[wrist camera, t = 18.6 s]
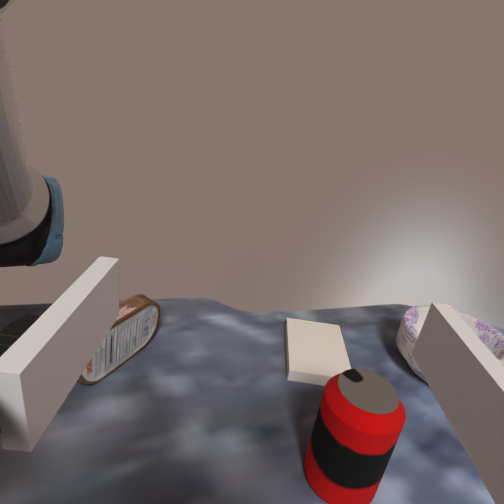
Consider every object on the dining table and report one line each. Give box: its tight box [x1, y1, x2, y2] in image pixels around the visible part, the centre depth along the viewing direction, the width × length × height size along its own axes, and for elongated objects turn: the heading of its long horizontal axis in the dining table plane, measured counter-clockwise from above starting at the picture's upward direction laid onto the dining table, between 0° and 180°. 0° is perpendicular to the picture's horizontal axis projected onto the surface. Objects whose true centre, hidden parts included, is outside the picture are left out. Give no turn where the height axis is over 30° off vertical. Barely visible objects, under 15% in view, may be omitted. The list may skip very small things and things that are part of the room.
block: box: [285, 318, 351, 386], centre depth 57 cm, size 2×9×13 cm
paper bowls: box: [396, 305, 504, 382], centre depth 56 cm, size 15×15×8 cm
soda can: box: [304, 369, 406, 504], centre depth 36 cm, size 8×8×12 cm
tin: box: [77, 294, 160, 385], centre depth 48 cm, size 15×3×8 cm, turn 154°
